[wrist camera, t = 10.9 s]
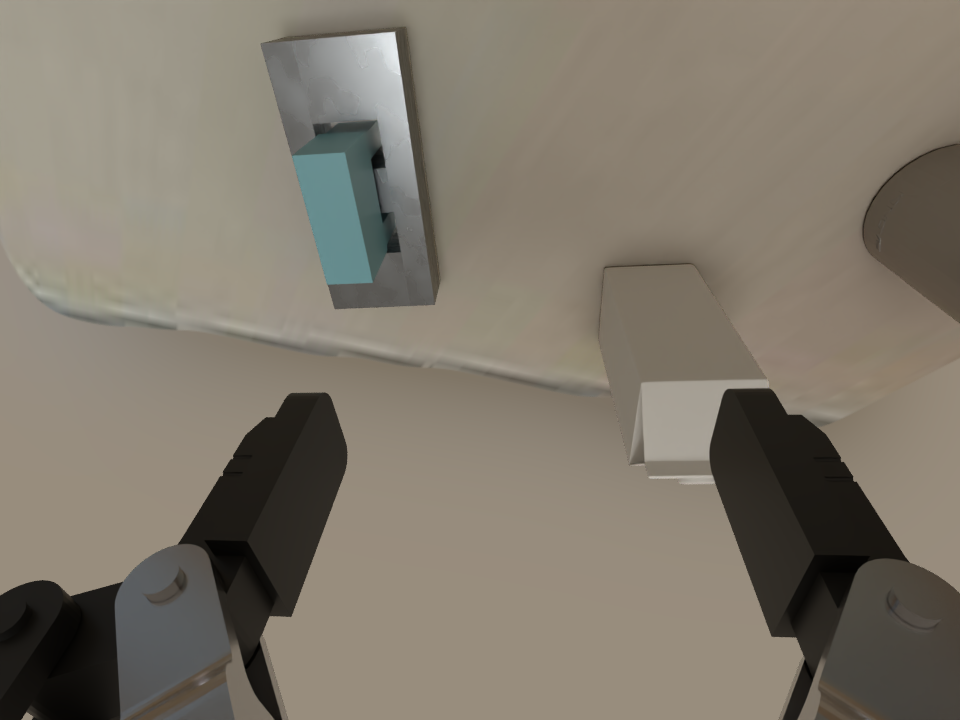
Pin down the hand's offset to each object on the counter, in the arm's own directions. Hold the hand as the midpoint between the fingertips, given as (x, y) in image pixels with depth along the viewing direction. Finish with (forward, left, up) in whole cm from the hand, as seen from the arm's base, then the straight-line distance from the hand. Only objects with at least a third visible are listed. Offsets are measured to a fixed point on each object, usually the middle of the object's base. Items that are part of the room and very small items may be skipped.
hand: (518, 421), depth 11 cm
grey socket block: (+11, +4, -31) cm, 33 cm away
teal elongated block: (+11, +4, -30) cm, 32 cm away
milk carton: (-10, +16, -31) cm, 36 cm away
